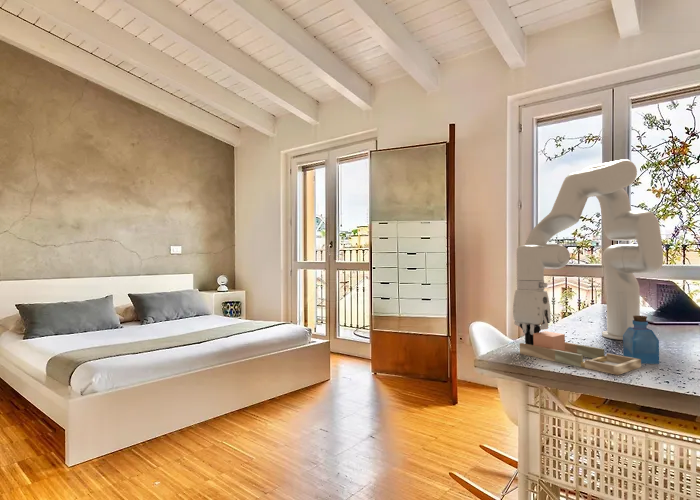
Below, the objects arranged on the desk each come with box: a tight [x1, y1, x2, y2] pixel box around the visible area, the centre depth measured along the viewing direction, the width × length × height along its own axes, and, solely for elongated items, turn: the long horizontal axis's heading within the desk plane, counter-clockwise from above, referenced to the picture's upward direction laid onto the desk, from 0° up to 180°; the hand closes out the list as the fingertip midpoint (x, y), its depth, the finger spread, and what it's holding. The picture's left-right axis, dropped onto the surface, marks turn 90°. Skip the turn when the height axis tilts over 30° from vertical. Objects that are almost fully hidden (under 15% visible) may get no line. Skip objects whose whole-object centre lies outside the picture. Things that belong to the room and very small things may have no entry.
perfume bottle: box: [622, 315, 660, 365], centre depth 117 cm, size 6×6×12 cm
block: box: [533, 330, 566, 351], centre depth 125 cm, size 6×6×6 cm
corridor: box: [519, 341, 642, 376], centre depth 119 cm, size 12×27×3 cm, turn 33°
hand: (531, 346), depth 130 cm, fingers closed
